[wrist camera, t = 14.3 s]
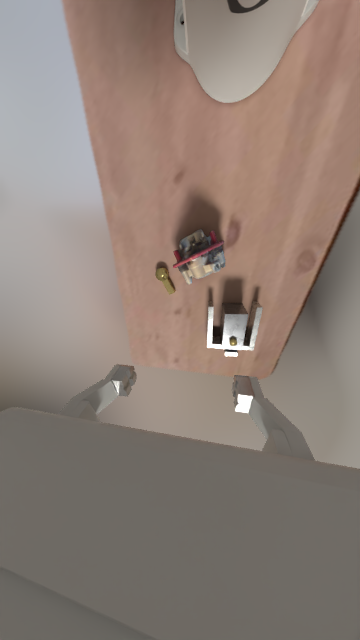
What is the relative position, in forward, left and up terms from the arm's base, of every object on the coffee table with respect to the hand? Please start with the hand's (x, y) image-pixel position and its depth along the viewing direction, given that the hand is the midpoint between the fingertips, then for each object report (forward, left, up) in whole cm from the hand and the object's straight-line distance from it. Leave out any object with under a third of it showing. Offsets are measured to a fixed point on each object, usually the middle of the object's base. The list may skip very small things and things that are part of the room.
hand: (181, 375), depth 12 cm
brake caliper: (-7, 0, -30) cm, 31 cm away
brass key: (-1, -9, -30) cm, 31 cm away
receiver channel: (+11, +8, -30) cm, 33 cm away
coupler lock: (+10, +8, -30) cm, 33 cm away
